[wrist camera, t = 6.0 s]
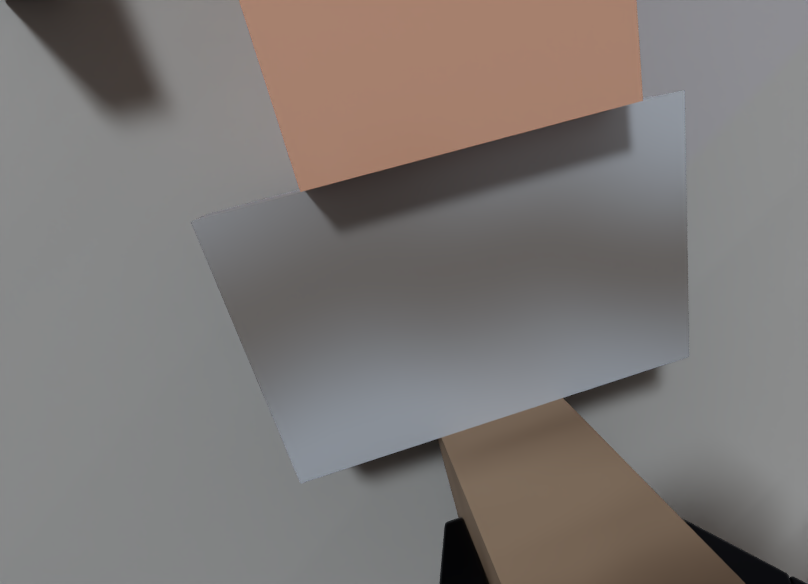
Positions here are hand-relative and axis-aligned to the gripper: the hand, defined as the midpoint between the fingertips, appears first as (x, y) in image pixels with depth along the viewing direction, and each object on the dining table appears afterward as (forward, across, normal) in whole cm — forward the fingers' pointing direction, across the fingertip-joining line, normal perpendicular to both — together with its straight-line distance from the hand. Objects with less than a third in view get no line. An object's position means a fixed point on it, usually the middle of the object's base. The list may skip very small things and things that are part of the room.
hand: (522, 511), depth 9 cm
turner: (+1, 0, 0) cm, 1 cm away
